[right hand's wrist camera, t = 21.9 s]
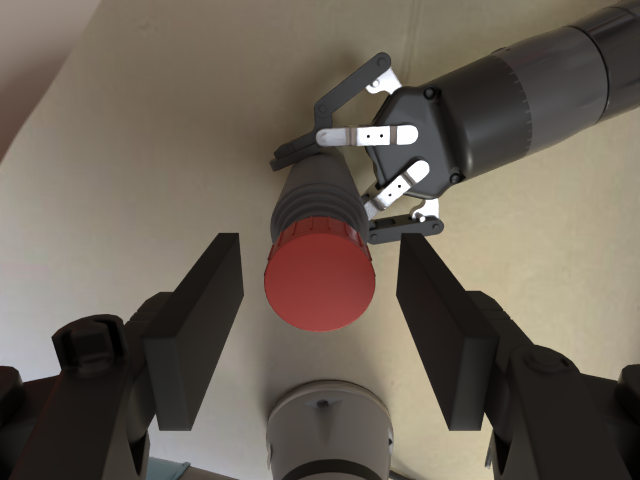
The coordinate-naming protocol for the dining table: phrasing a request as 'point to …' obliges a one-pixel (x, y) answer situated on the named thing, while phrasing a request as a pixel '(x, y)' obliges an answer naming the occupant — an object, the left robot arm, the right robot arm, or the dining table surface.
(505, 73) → the left robot arm
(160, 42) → the dining table surface
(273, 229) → the bottle
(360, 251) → the cap
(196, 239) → the dining table surface
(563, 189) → the dining table surface
